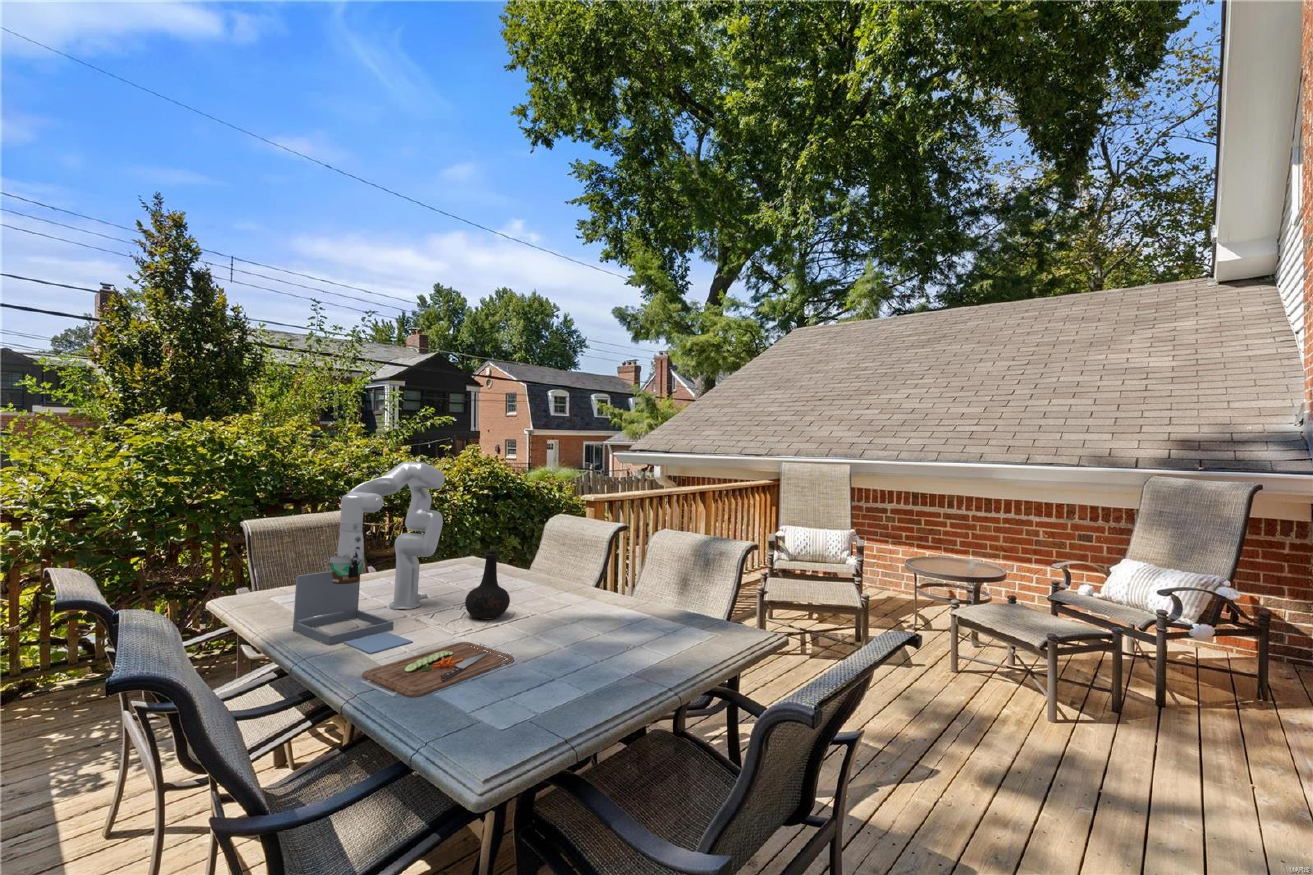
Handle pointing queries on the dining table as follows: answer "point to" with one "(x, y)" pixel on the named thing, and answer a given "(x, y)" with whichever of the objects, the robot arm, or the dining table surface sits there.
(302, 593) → the case
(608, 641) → the dining table surface
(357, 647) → the mat
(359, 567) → the food container
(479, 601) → the glass bottle
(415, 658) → the chopping board
